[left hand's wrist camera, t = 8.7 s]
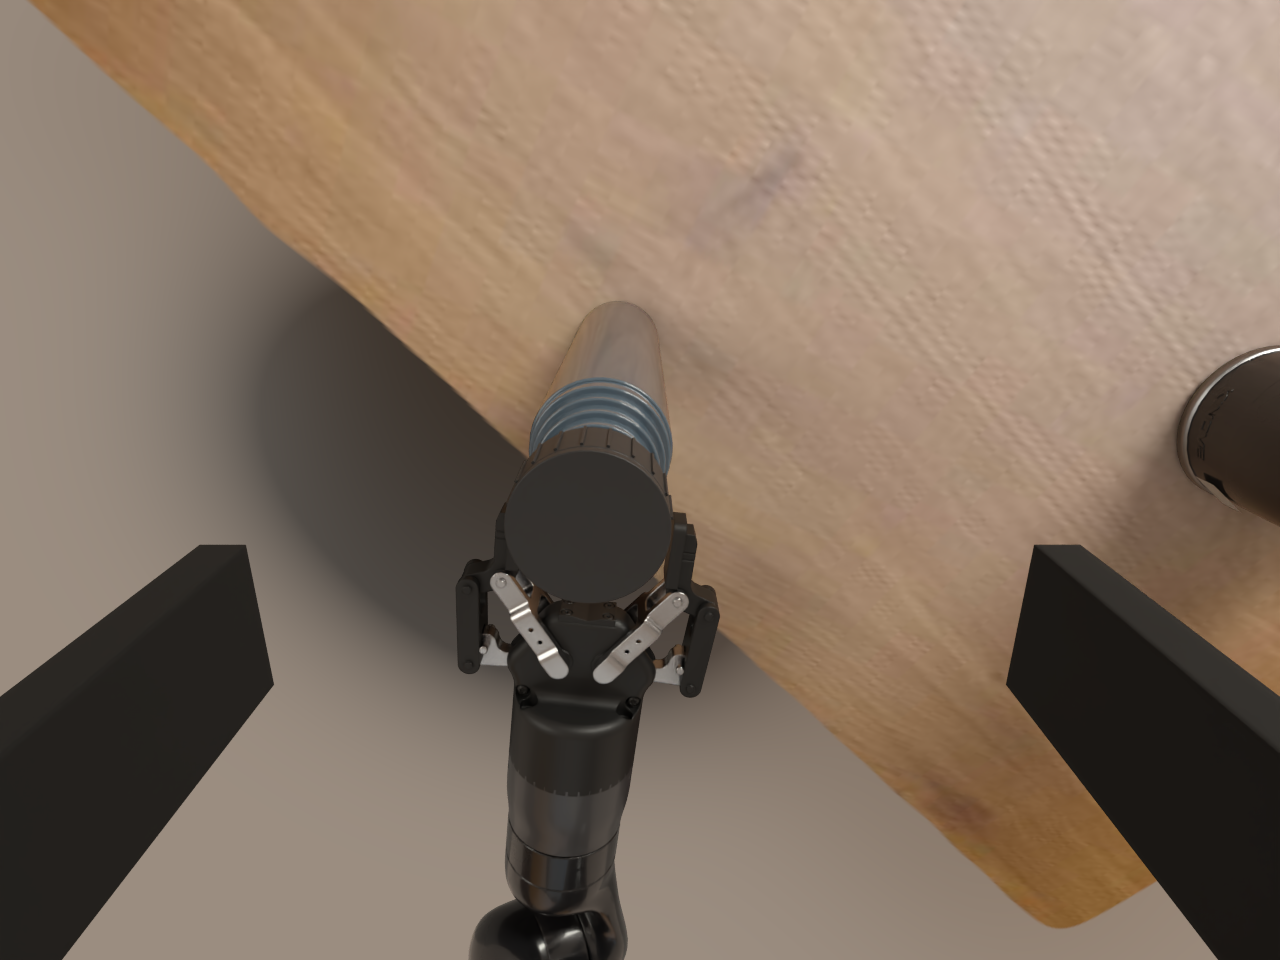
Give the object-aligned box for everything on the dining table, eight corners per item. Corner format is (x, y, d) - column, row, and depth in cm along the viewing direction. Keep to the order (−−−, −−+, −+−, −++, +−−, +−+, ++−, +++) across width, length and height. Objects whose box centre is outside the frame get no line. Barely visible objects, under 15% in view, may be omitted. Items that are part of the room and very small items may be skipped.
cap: (601, 595, 21) (598, 634, 19) (484, 505, 20) (467, 537, 18) (702, 492, 20) (708, 523, 18) (582, 392, 19) (576, 413, 17)
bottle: (622, 398, 44) (599, 638, 20) (560, 346, 43) (457, 531, 18) (675, 338, 42) (721, 515, 18) (613, 283, 41) (576, 394, 17)
